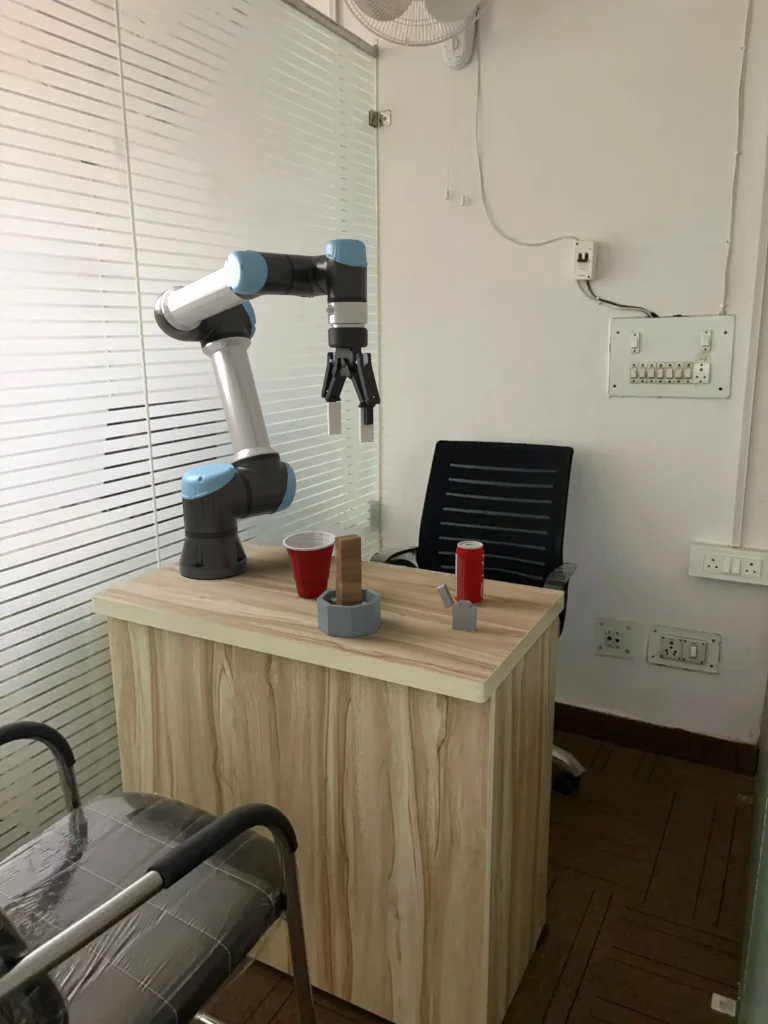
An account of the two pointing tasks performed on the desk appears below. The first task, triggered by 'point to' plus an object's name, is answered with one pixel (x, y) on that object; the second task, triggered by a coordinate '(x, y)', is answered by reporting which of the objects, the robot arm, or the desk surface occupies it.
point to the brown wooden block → (348, 570)
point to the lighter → (459, 610)
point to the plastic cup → (310, 561)
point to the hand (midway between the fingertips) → (350, 438)
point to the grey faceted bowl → (349, 615)
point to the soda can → (469, 572)
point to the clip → (333, 602)
